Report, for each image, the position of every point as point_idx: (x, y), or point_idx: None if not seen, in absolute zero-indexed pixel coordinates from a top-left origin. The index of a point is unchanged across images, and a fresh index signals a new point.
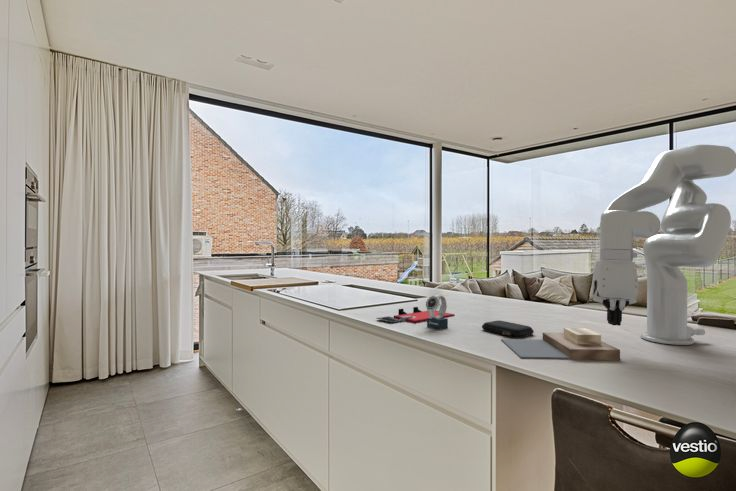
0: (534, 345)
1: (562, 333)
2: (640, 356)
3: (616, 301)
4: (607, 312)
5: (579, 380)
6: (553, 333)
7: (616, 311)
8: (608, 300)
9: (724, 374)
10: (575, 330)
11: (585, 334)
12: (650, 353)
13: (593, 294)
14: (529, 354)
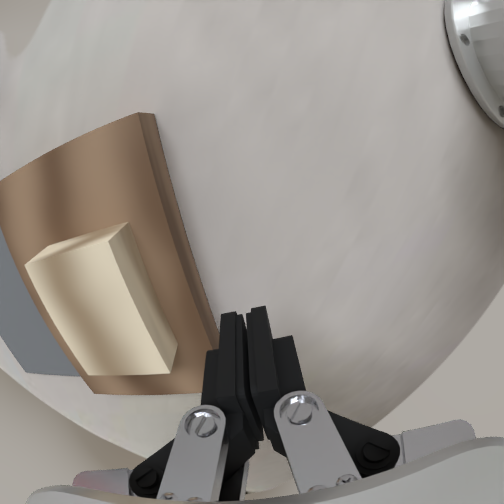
0: (7, 278)
1: (40, 174)
2: (318, 312)
3: (299, 473)
4: (204, 395)
5: (136, 448)
6: (14, 192)
7: (256, 443)
8: (205, 489)
9: (415, 385)
10: (69, 311)
11: (113, 371)
12: (377, 262)
13: (48, 497)
14: (29, 359)
